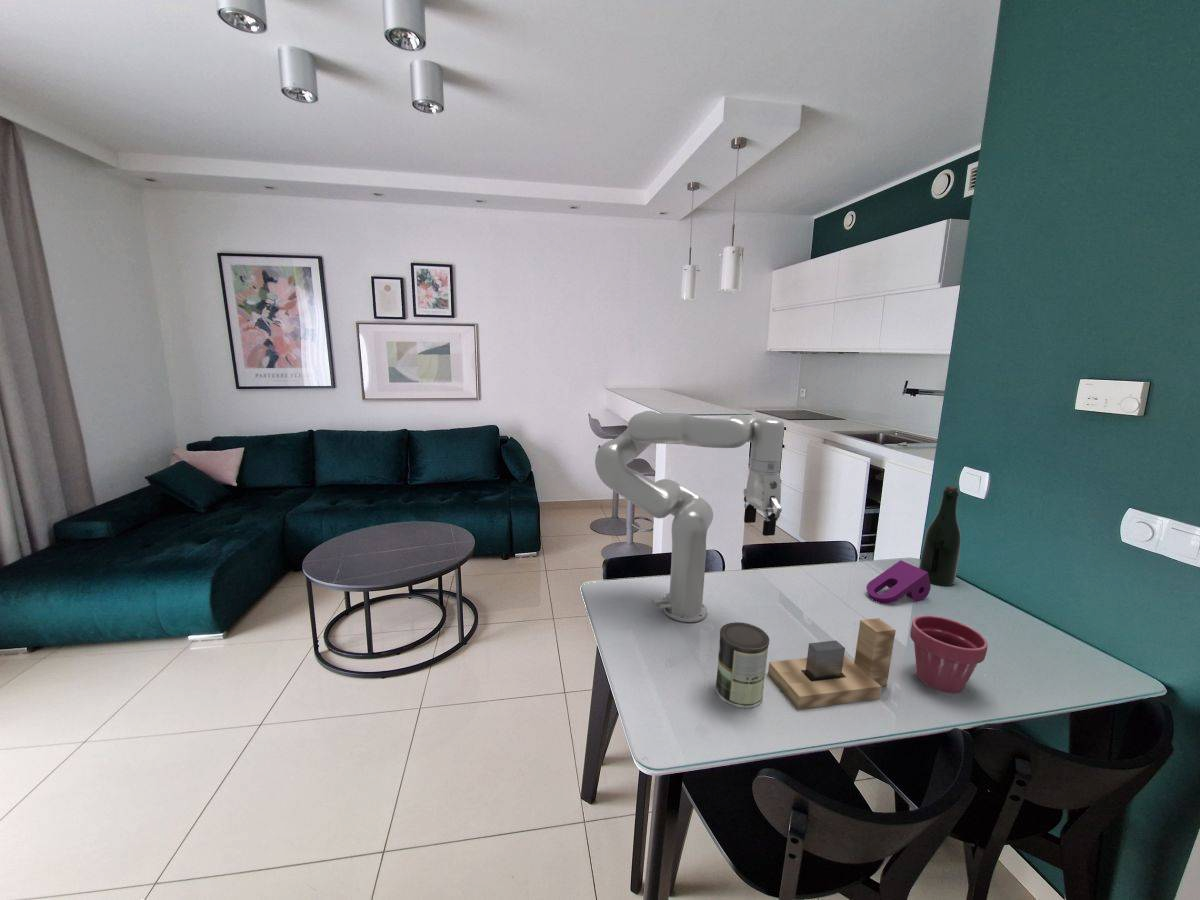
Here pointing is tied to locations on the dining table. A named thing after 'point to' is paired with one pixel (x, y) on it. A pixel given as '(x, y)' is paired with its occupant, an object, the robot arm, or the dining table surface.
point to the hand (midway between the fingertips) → (758, 528)
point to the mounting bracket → (900, 584)
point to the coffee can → (741, 664)
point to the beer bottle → (943, 542)
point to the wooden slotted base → (856, 676)
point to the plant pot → (946, 652)
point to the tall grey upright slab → (824, 660)
